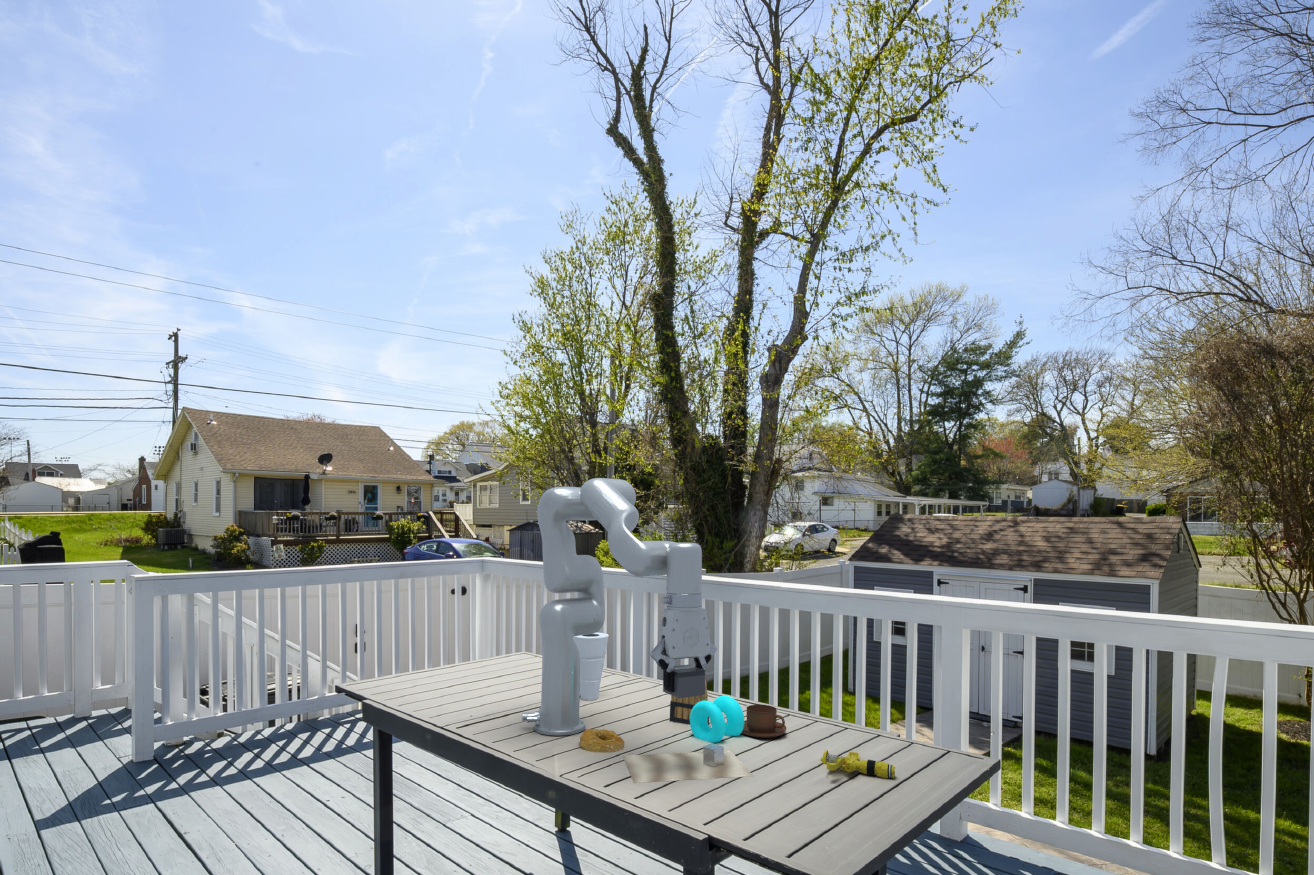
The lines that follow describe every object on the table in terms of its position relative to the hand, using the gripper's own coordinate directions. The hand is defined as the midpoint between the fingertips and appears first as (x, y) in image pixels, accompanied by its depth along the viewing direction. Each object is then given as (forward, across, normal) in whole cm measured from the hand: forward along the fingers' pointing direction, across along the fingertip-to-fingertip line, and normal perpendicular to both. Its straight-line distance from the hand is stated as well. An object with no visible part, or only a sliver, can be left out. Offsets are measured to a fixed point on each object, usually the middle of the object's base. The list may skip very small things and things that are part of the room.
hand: (684, 688), depth 148 cm
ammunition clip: (+17, +20, +31) cm, 40 cm away
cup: (+17, +7, +65) cm, 68 cm away
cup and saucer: (+17, +31, +15) cm, 39 cm away
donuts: (+17, +18, +14) cm, 29 cm away
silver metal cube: (+16, +6, -2) cm, 17 cm away
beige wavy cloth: (+17, 0, 0) cm, 17 cm away
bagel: (+17, -9, +20) cm, 28 cm away
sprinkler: (+18, +34, -15) cm, 41 cm away
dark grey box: (+1, 0, 0) cm, 1 cm away
